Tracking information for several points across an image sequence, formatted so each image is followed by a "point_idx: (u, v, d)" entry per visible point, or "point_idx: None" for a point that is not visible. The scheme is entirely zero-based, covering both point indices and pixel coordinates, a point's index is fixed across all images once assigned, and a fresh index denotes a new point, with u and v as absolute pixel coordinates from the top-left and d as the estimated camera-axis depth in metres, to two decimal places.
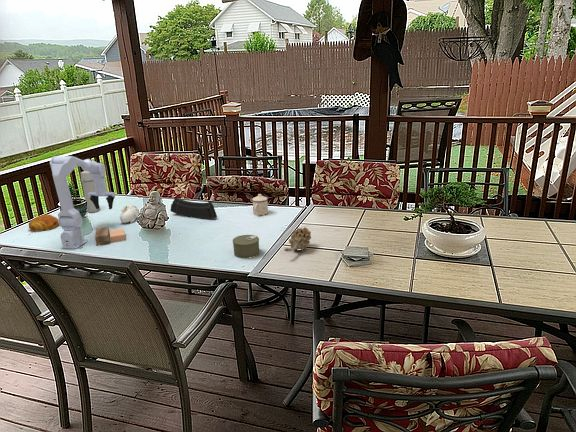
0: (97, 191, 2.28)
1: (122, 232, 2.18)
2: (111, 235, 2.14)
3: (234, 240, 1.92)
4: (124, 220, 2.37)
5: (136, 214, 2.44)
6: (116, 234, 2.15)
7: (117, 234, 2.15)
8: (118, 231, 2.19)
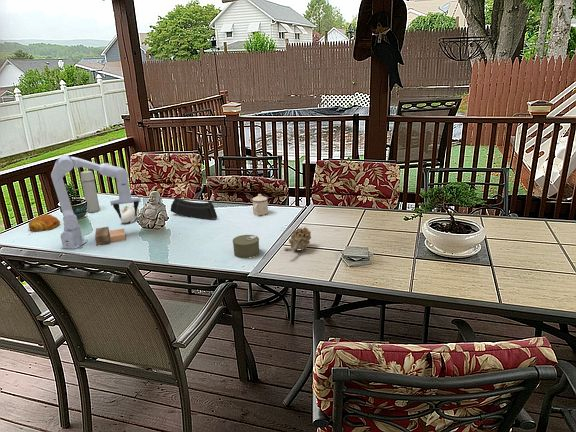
0: (123, 198, 2.15)
1: (122, 232, 2.18)
2: (111, 235, 2.14)
3: (234, 240, 1.92)
4: (124, 220, 2.37)
5: None
6: (116, 234, 2.15)
7: (117, 234, 2.15)
8: (118, 231, 2.19)
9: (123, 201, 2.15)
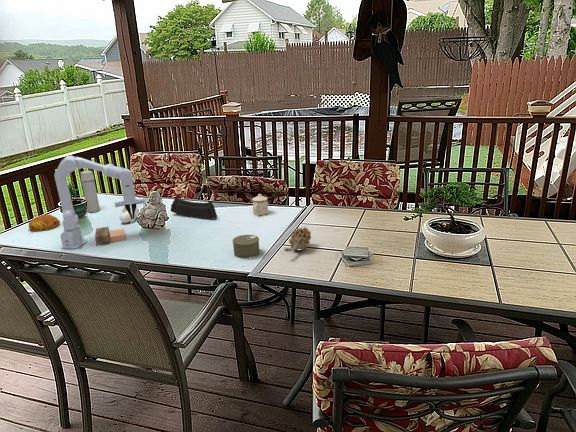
0: (128, 199, 2.12)
1: (122, 232, 2.18)
2: (111, 235, 2.14)
3: (234, 240, 1.92)
4: (124, 220, 2.37)
5: (136, 214, 2.44)
6: (116, 234, 2.15)
7: (117, 234, 2.15)
8: (118, 231, 2.19)
9: (128, 203, 2.13)
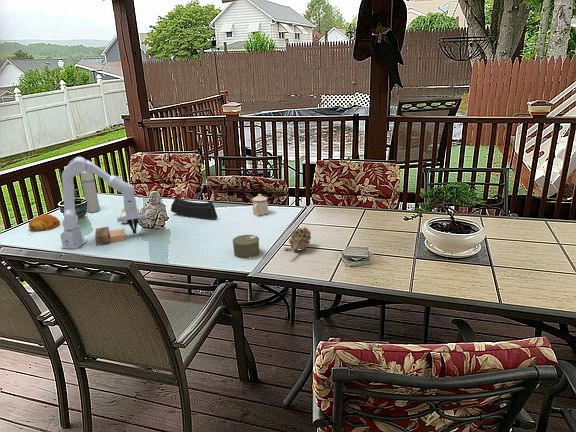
0: (130, 215, 2.15)
1: (122, 232, 2.18)
2: (111, 235, 2.14)
3: (234, 240, 1.92)
4: None
5: None
6: (116, 234, 2.15)
7: (117, 234, 2.15)
8: (118, 231, 2.19)
9: (130, 218, 2.15)
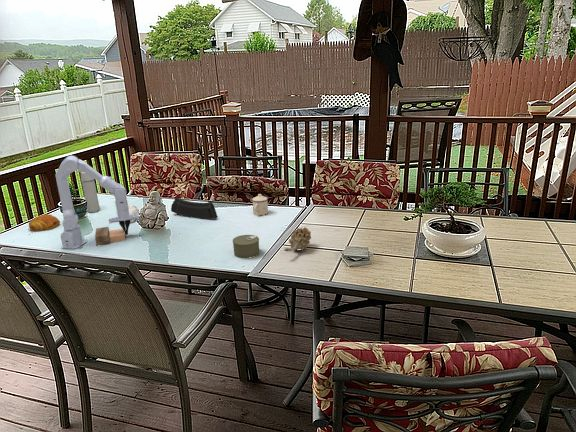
0: (122, 216, 2.14)
1: (122, 232, 2.18)
2: (111, 235, 2.14)
3: (234, 240, 1.92)
4: None
5: (136, 214, 2.44)
6: (116, 234, 2.15)
7: (117, 234, 2.15)
8: (118, 231, 2.19)
9: (122, 219, 2.14)
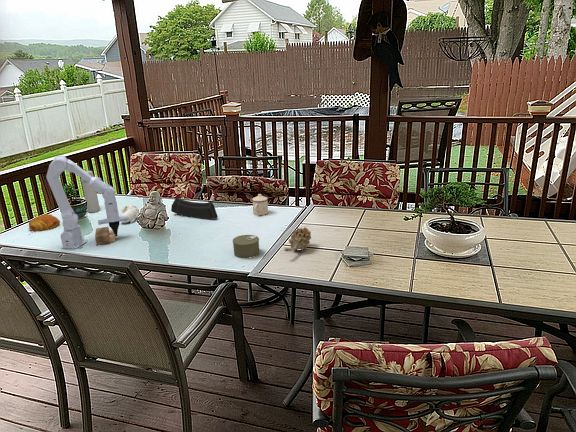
0: (111, 217, 2.12)
1: (112, 233, 2.16)
2: None
3: (234, 240, 1.92)
4: None
5: (136, 214, 2.44)
6: None
7: None
8: None
9: (111, 220, 2.12)
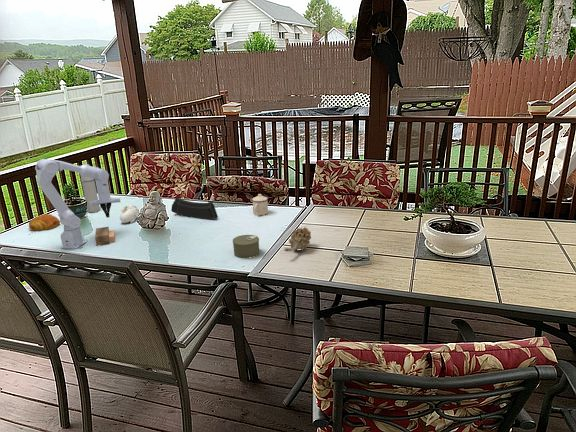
0: (103, 198, 2.16)
1: (112, 234, 2.16)
2: None
3: (234, 240, 1.92)
4: (124, 220, 2.37)
5: (136, 214, 2.44)
6: None
7: None
8: None
9: (103, 201, 2.17)
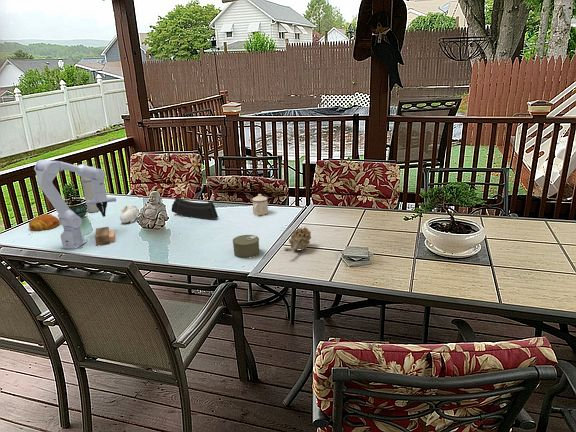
0: (99, 198, 2.18)
1: (112, 234, 2.16)
2: None
3: (234, 240, 1.92)
4: (124, 220, 2.37)
5: (136, 214, 2.44)
6: None
7: None
8: None
9: (99, 201, 2.18)
